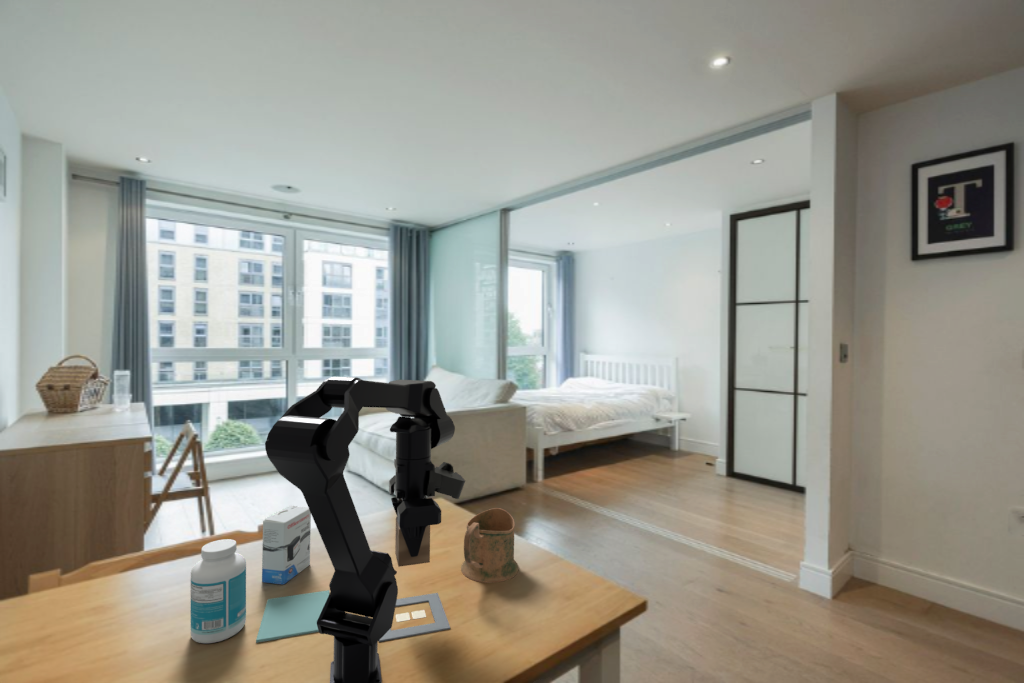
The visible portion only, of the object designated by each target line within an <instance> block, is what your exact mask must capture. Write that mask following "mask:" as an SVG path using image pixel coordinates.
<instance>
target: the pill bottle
mask: <svg viewBox="0 0 1024 683" xmlns="http://www.w3.org/2000/svg"><path fill="white" fill-rule="evenodd" d="M236 551H237V541H236V540H234V539H230V538H229V539H228V538H226V539H223V538H222V539H218V540H217V539H216V540H214V541H210V542H207V543H206V544H204V545H203V546H202V547H201V552H200V553H201V555H200V556H201V558H202V559H200V560H199V561H197V562H196V563H195V564H194V565H193V566H192V568H191V572H190V637H191V639H192V640H193V641H194V642H196V643H199V644H213V643H214V644H215V643H219V642H222V641H225V640H227V639H229V638H231V637H233V636H235V635H237V634H238V633H239V632H240V631H241V630H242V629H243V627H244V626H245V624H246V621H247V561H246V558H245V557H244V555H242V554H240V553H239V552H236Z"/></svg>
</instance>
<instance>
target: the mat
mask: <svg viewBox="0 0 1024 683" xmlns="http://www.w3.org/2000/svg"><path fill="white" fill-rule="evenodd" d="M329 594H330V589H328V590H321V591H320V590H319V591H314V592H308V593H300V594H293V595H288V596H279V597H273V598H267V601H266V604H265V608H264V612H263V615H262V618H261V621H260V622H261V623H260V625H259V629H258V633H257V636H256V638H255V644H256V643H263V642H267V641H274V640H279V639H284V638H289V637H297V636H302V635H308V634H313V633H319V630H318V627H317V620H318V618H319V616H320V614H321V611H322V609H323V607H324V605H325V603H326V601H327V598H328V596H329Z"/></svg>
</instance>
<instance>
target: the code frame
mask: <svg viewBox="0 0 1024 683" xmlns="http://www.w3.org/2000/svg"><path fill="white" fill-rule="evenodd" d="M440 598H441V597H440V596H439V593H438V592H435V593H427V594H421V595H416V596H415V595H414V596H408V597H403V598H397V601H396V606H395V608H398V607H403V606H410V605H411V606H412V605H416V604H422V603H428V604H429V608H430V611H431V615H432V617H433V620H434V622H431V623H427V624H425V623H424V624H420V625H419V624H418V625H414V626H408V627H403V628H398V629H392V627H391V628H390V629H389V631H388V632H387V633H386V634H385V635H384V636H383V637H382V638H381V639H380V640H379V641H378V643H382V642H387V641H391V640H399V639H403V638H408V637H409V638H410V637H414V636H419V635H424V634H426V635H427V634H431V633H436V632H441V631H447V630H451V626H450V623H449V619H448V617H447V615H446V612H445V609H444V607H443V603H442V601H441V599H440ZM410 613H411V615H410ZM394 616H395V619H396V620H395V621H396V623H400V622H401V623H402V622H407V621H410V620H411V617H412V620H417V619H424V618H427V615H426V611H425V609H420V610H414V611H411V612H403V613H402V612H401V613H396V614H394ZM410 616H411V617H410Z"/></svg>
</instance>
